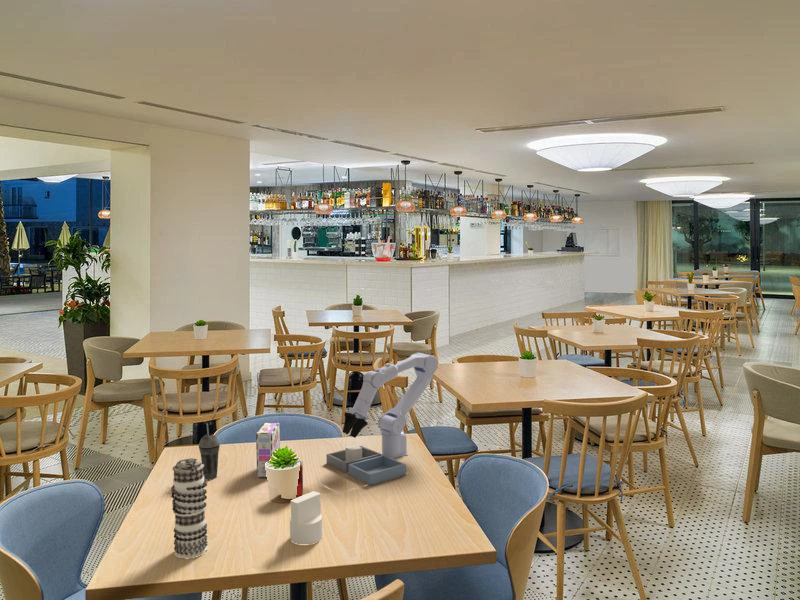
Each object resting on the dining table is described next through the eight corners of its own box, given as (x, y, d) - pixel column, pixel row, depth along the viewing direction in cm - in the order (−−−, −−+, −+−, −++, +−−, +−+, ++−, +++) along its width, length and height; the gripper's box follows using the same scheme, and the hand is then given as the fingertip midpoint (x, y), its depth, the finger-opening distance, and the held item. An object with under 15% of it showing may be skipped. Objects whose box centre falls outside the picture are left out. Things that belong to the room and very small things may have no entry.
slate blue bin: (383, 465, 237) (383, 455, 237) (405, 475, 227) (405, 464, 227) (348, 475, 227) (348, 464, 227) (369, 485, 217) (369, 474, 217)
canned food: (274, 497, 208) (273, 464, 207) (289, 489, 215) (288, 457, 214) (292, 501, 204) (292, 468, 203) (307, 493, 211) (307, 461, 210)
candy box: (272, 478, 225) (271, 432, 223) (256, 478, 225) (255, 432, 224) (281, 464, 239) (280, 422, 237) (265, 464, 239) (264, 422, 237)
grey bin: (361, 455, 249) (361, 445, 248) (381, 464, 239) (381, 454, 238) (326, 464, 239) (326, 454, 238) (346, 474, 229) (345, 463, 228)
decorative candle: (212, 543, 176) (210, 455, 174) (203, 559, 167) (200, 467, 164) (179, 543, 176) (176, 455, 173) (168, 560, 166) (165, 467, 164)
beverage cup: (224, 473, 229) (222, 419, 228) (216, 481, 222) (214, 425, 220) (204, 473, 230) (202, 419, 228) (196, 480, 223) (194, 424, 221)
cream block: (355, 460, 242) (355, 445, 241) (362, 463, 238) (362, 447, 238) (345, 462, 239) (345, 447, 238) (352, 466, 235) (352, 450, 235)
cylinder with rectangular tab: (307, 528, 185) (306, 488, 184) (329, 537, 179) (328, 496, 178) (283, 539, 178) (282, 497, 177) (305, 549, 172) (304, 506, 171)
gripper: (361, 401, 247) (347, 434, 244) (348, 393, 234) (332, 427, 231) (377, 408, 244) (362, 441, 241) (364, 399, 231) (348, 434, 228)
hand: (348, 435), depth 236 cm, fingers open, 7 cm apart
